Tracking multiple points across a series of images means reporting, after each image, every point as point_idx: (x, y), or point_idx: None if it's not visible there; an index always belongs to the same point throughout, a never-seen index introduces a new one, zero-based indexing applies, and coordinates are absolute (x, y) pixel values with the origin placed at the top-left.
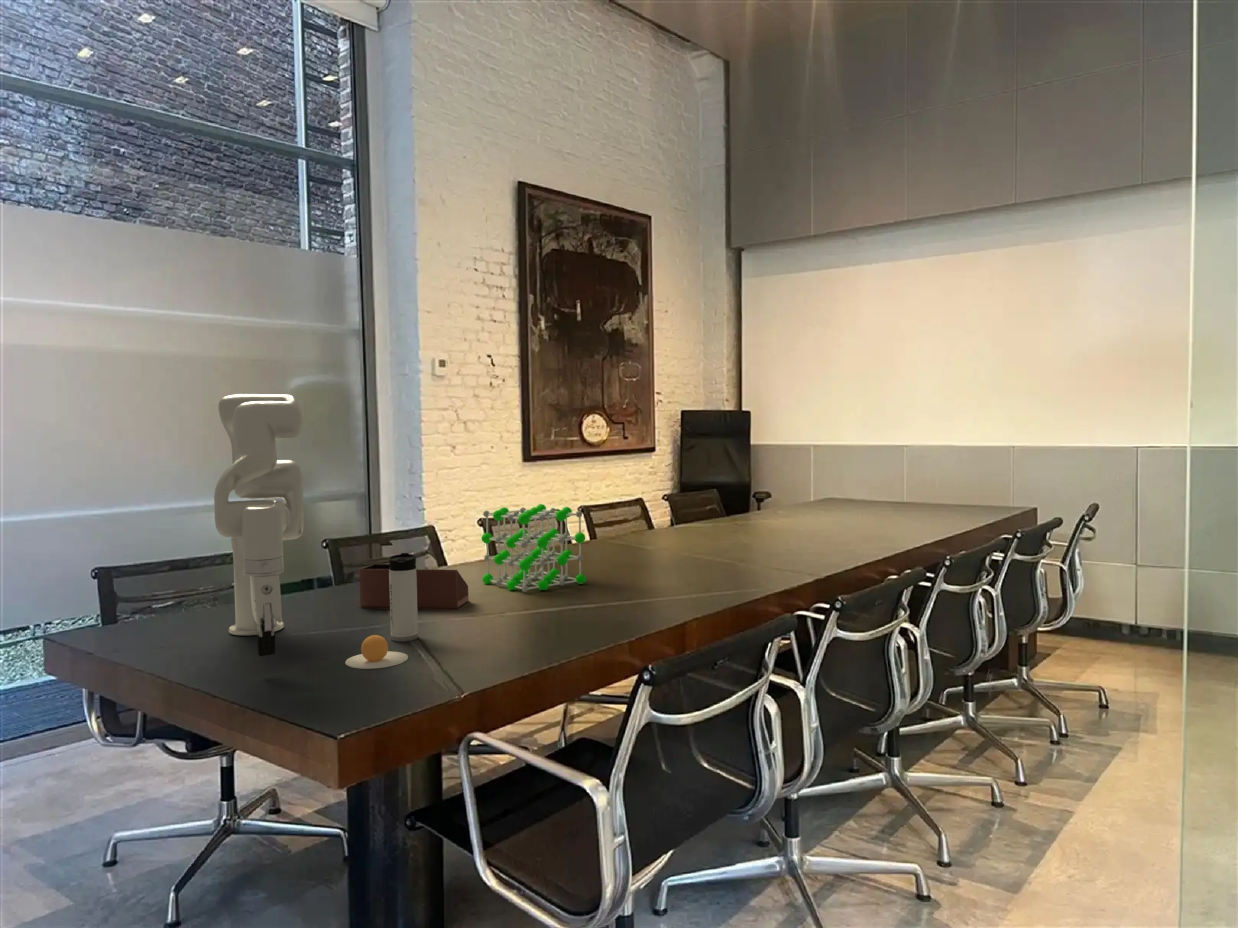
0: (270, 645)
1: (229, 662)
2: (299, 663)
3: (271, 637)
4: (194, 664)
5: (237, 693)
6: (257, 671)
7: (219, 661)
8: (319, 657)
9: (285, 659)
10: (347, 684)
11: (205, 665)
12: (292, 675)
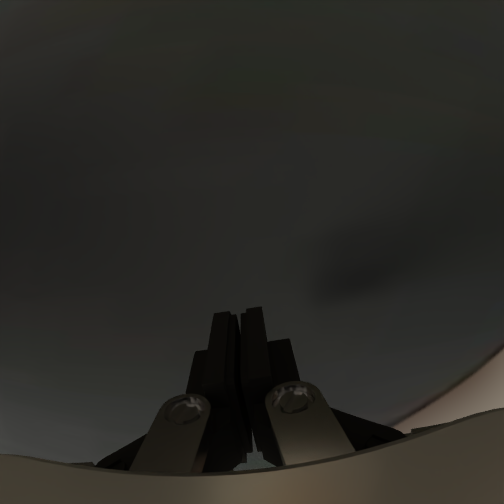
0: (292, 358)
1: (61, 397)
2: (112, 171)
3: (272, 385)
4: (78, 454)
5: (437, 361)
6: (186, 333)
7: (53, 414)
8: (55, 100)
9: (43, 235)
10: (484, 32)
11: (87, 442)
12: (311, 193)
